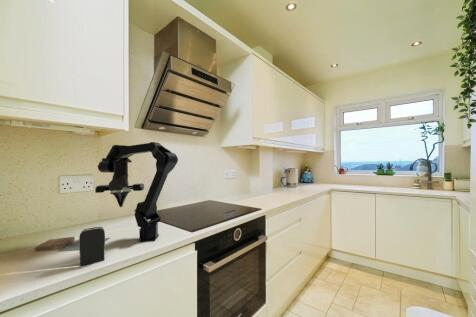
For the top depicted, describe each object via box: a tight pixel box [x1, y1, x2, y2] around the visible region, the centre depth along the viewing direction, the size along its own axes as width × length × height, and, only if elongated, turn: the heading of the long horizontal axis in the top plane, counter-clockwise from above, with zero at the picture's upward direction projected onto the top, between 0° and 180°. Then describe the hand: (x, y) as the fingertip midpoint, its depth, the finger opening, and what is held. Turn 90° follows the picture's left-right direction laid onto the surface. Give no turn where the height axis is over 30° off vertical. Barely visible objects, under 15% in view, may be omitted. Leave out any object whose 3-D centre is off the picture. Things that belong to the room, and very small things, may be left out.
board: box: [34, 236, 76, 252], centre depth 82 cm, size 2×8×9 cm
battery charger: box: [78, 226, 106, 267], centre depth 69 cm, size 7×4×11 cm, turn 124°
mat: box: [57, 237, 111, 252], centre depth 83 cm, size 13×12×1 cm
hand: (121, 206), depth 93 cm, fingers closed
